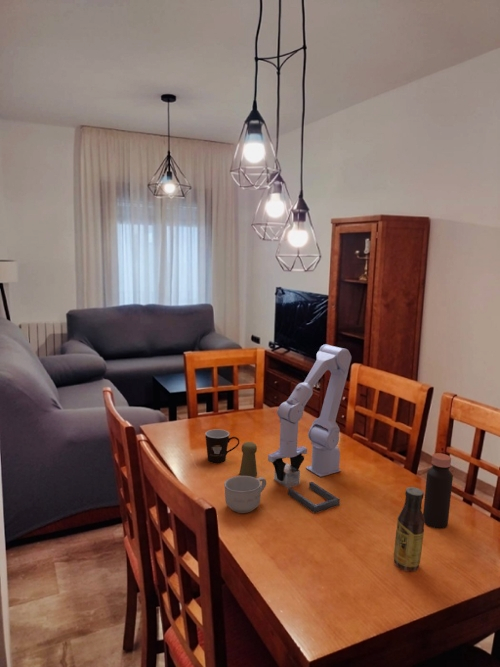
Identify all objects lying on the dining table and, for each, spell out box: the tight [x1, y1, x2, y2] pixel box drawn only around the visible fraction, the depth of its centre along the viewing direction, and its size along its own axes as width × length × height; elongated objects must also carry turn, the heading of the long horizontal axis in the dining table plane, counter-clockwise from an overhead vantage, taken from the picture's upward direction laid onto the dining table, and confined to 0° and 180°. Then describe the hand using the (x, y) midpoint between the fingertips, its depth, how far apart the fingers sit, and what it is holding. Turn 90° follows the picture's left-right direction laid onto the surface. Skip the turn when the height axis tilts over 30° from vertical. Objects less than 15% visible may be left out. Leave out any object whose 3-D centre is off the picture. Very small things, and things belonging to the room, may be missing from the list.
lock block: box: [273, 462, 301, 489], centre depth 160 cm, size 5×7×5 cm
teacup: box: [223, 475, 267, 514], centre depth 144 cm, size 14×11×8 cm
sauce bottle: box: [393, 486, 425, 573], centre depth 117 cm, size 7×6×20 cm
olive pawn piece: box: [239, 441, 258, 478], centre depth 165 cm, size 6×6×11 cm
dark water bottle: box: [422, 452, 454, 530], centre depth 137 cm, size 7×7×20 cm
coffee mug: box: [204, 428, 240, 465], centre depth 175 cm, size 12×9×10 cm
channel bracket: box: [287, 481, 341, 514], centre depth 149 cm, size 10×13×2 cm
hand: (286, 477), depth 161 cm, fingers open, 5 cm apart
